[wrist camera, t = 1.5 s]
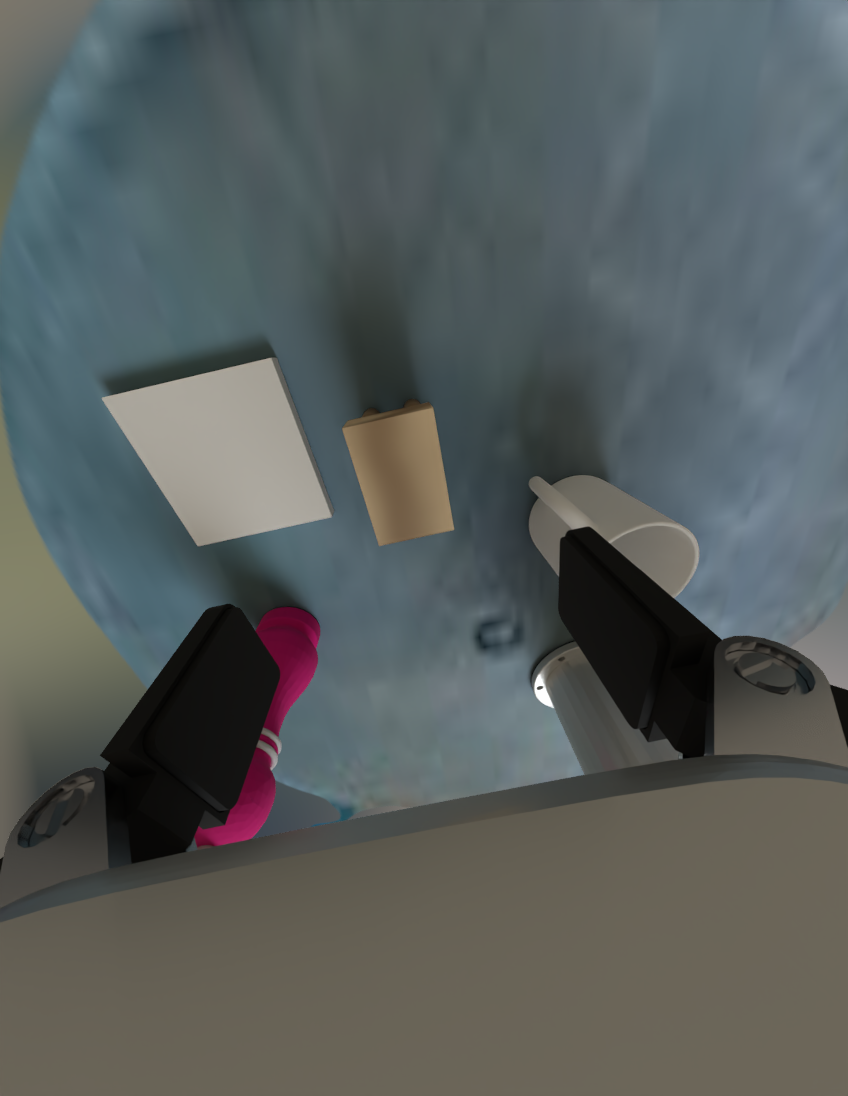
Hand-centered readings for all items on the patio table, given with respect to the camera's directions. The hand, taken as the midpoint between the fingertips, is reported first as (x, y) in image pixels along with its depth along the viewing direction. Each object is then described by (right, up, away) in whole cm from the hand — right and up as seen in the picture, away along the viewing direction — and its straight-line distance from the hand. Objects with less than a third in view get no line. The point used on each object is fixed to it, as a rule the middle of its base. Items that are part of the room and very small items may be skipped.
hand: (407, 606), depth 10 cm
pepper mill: (-14, -7, +26) cm, 30 cm away
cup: (+13, +6, +21) cm, 25 cm away
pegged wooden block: (-1, +10, +17) cm, 20 cm away
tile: (-15, +9, +16) cm, 24 cm away
